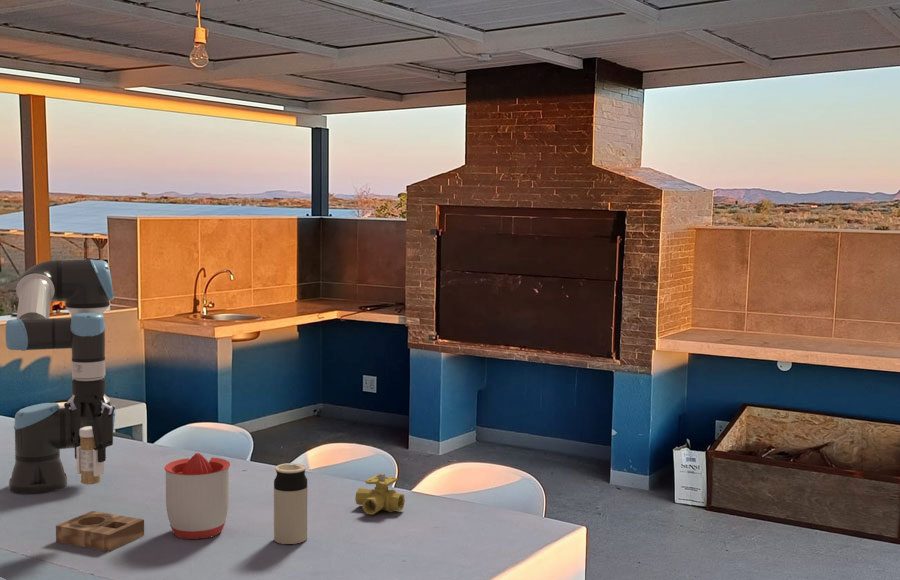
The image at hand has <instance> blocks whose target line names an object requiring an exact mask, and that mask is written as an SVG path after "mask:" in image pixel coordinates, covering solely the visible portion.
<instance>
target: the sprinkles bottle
mask: <svg viewBox="0 0 900 580" xmlns="http://www.w3.org/2000/svg"><path fill="white" fill-rule="evenodd" d="M79 436H80V444H81V448H80V456H81V474H80V478H81V479H80V483H81V484H82V485H96V484H99V483H100V482H101V480H102V479H101V475H99V476H96V477H95V476H94V474H93V449H94V448H96V446H95V440H94V435H93V430H92V426H87V427H82V428H80V430H79Z"/></svg>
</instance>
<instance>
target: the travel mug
mask: <svg viewBox="0 0 900 580" xmlns="http://www.w3.org/2000/svg"><path fill="white" fill-rule="evenodd" d="M274 470H275V472H276V476H275V478H274V480H273V540H274V542H275V543H278V544H280V543H281V545H285V544H293V545H298V544H297V543H299V544H301V542H302V543H304V542H305V541H306V540H308V478H307V476H306V470H307V466H306V465H305V464H302V463H300V462H299V463H297V462H296V463H295V462H289V463H287V462H286V463H281V464H278V465H277V466H275V467H274Z"/></svg>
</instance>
